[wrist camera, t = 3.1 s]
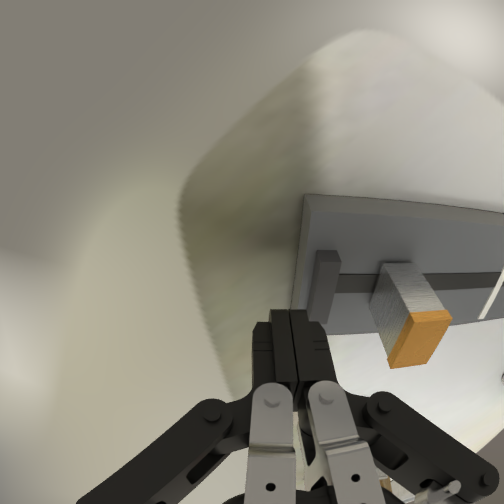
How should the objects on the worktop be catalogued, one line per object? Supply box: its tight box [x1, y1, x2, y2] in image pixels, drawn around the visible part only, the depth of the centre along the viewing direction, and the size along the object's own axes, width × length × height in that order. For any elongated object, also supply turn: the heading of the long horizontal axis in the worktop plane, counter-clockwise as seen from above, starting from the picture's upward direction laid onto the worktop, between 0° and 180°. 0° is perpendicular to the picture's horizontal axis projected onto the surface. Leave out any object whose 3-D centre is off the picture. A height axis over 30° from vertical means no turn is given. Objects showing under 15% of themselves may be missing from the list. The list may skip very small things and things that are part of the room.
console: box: [291, 194, 504, 335], centre depth 16 cm, size 20×8×3 cm, turn 89°
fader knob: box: [369, 263, 453, 369], centre depth 14 cm, size 2×3×4 cm
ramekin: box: [391, 480, 415, 503], centre depth 49 cm, size 13×13×7 cm
